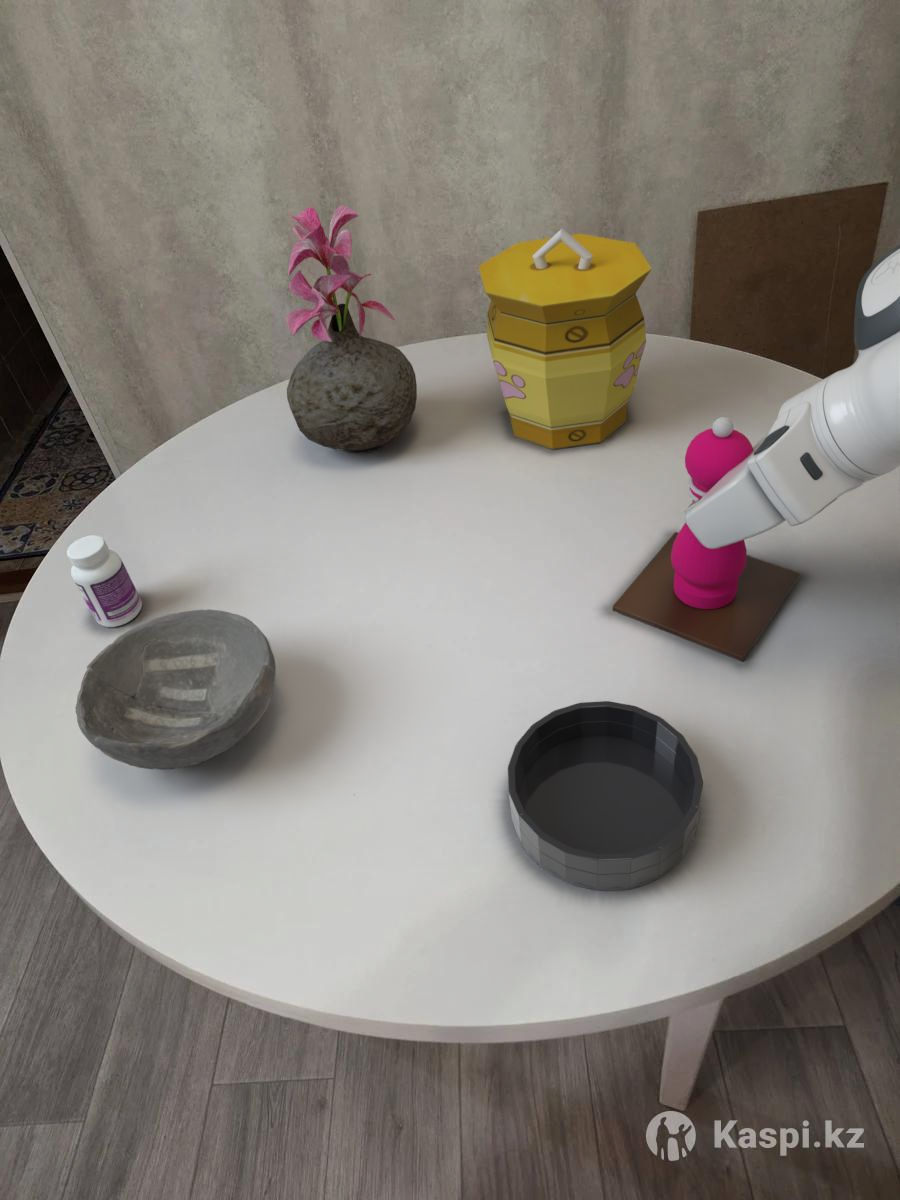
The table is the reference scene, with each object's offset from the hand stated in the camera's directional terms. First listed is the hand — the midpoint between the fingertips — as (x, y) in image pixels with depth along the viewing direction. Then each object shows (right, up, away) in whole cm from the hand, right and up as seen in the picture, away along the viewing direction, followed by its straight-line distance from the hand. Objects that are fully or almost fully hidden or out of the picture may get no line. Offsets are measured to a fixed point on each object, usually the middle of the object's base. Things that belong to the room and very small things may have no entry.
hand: (708, 497), depth 82 cm
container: (-9, +15, +36) cm, 40 cm away
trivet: (+2, -9, +8) cm, 12 cm away
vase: (-36, +13, +38) cm, 54 cm away
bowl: (-49, -22, +2) cm, 53 cm away
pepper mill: (+2, -9, +7) cm, 11 cm away
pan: (-12, -27, -9) cm, 31 cm away
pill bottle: (-62, -11, +16) cm, 65 cm away
